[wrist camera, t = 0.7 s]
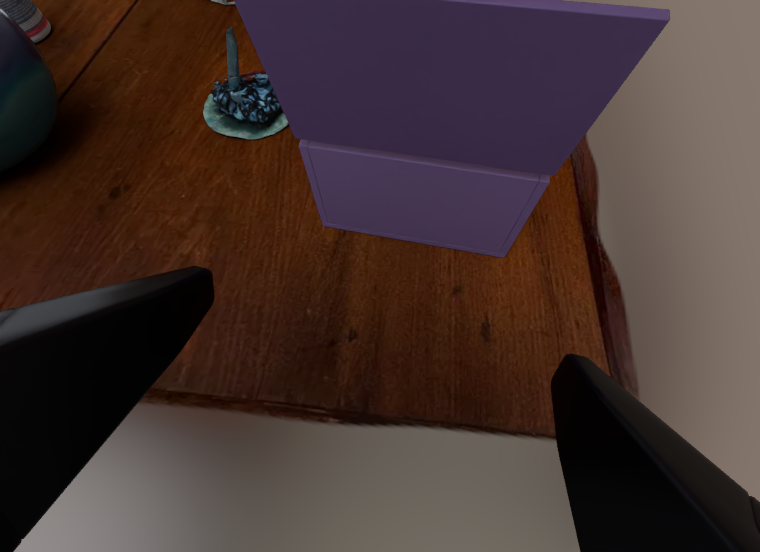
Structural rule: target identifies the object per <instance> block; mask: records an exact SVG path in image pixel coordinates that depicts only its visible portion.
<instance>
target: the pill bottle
mask: <svg viewBox="0 0 760 552" xmlns="http://www.w3.org/2000/svg"><path fill="white" fill-rule="evenodd" d="M0 8H1V9H2V10H3V11H4V12H6V13H7V14H8V15H9V16H10V17H12V18H13V19H14V20H15V21H16V23H17V24H18V25H19V26H20V27H21V28H22V29H23V30H24V31H25V32H26V33H27V35H28V36H29V37H30V38H31V40H32V41H33V42H34V44H35V43H37V42H39V41H41V40H42V39H44V38H45V37H46V36H47V35H48V34H49V32H50V30H51V25H50V23H49V21H48V20H47V19H46V18H45V16H44V15H43V14H42V13H41V11H40V10H39V9H38V8H37V6H36V5H35V4H34V3H33V2H32V0H0Z"/></svg>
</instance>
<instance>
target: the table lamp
mask: <svg viewBox="0 0 760 552" xmlns="http://www.w3.org/2000/svg"><path fill="white" fill-rule="evenodd" d="M210 1H214V2H217V3H221V4H224V5H228V4H235V2H227V0H220V1H219V0H210Z"/></svg>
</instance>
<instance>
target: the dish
mask: <svg viewBox="0 0 760 552" xmlns="http://www.w3.org/2000/svg"><path fill="white" fill-rule="evenodd" d="M226 38H227V66H228V76H227V77H228V80H227V79H225V80H224V81H223V82H220V80H219V81H218V82H214V86H215V90H211V94H210V95H209V96H208V99H207V101H206V102H205V106H204V110H203V114H204V118H205V121H206V122H207V124H208V125H209V126H210V127H211V128H212V129H213V130H214V131H216V132H218V133H221V134H224V135H227V136H234V137H240V138H245V139H259V138H263V137H265V136H269V135H272V134H275V133H277V132H278V131H280V130H281V129H283V128H284V127H286V126H287V125H288V124H289V123H288V121H287V119H286V116H285V114H284V112H283V110H282V107H281V105H280V103H279V101H278V98H277V96H276V94H275V92H274V89H273V87H272V85H271V83H270V81H269V78H268V76H267V74H266V72H265V70H261V71H257V70H254V71H250V72H246V73H241V74H239V68H238V59H239V58H238V45H237V43H236V39H235V36H234V34H233V29H232V27H230V28H229V29H228V30H227V32H226ZM223 77H225V76H223ZM221 79H222V78H221Z"/></svg>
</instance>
